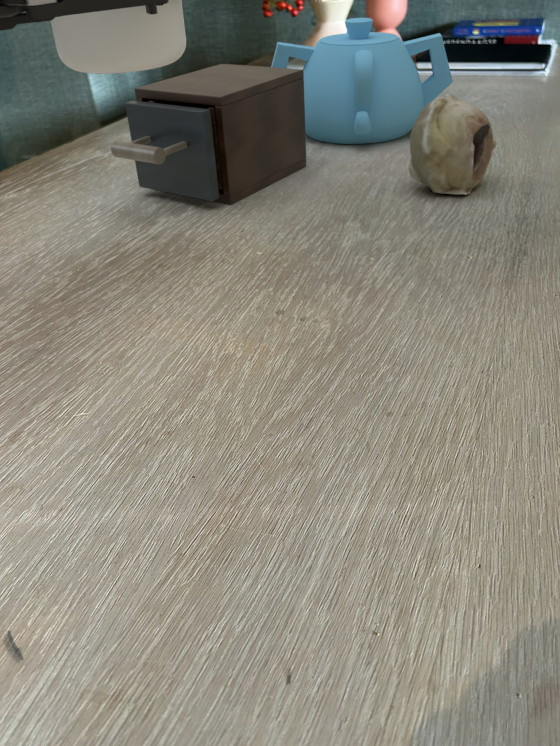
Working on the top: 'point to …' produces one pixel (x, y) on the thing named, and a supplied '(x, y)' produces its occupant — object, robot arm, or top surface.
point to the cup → (121, 39)
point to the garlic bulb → (450, 146)
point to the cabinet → (246, 120)
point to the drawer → (174, 147)
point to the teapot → (365, 83)
